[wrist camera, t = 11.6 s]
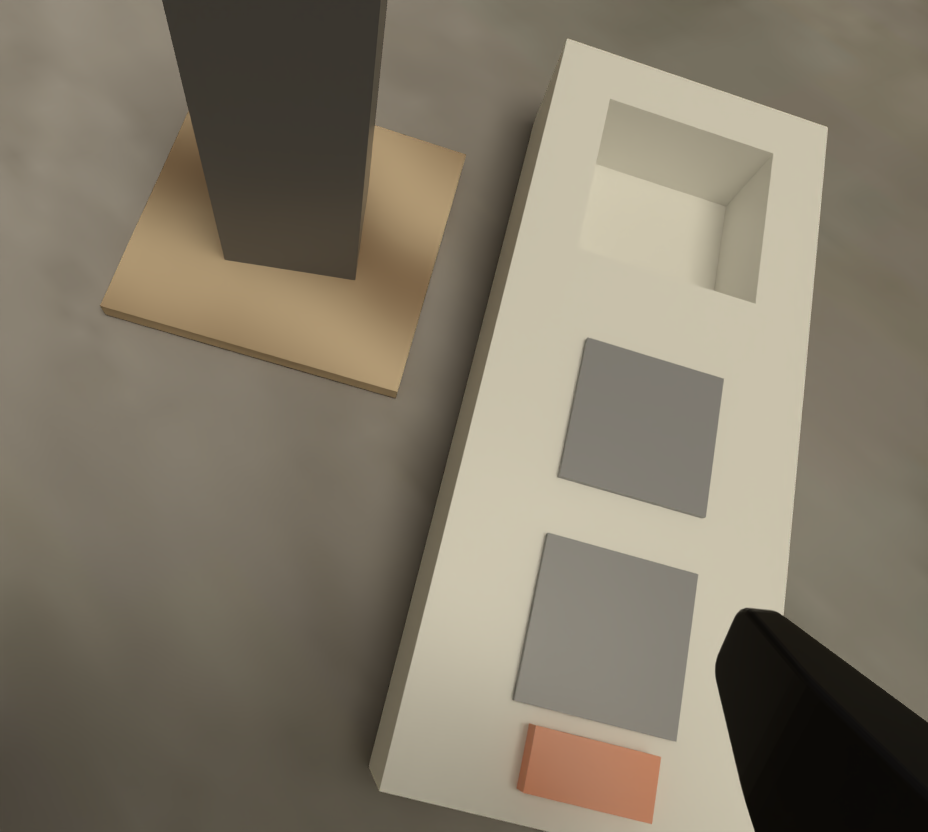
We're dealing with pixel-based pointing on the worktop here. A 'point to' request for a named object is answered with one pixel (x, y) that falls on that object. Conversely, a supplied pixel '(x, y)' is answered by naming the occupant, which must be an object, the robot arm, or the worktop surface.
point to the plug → (283, 123)
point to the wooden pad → (292, 292)
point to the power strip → (615, 464)
